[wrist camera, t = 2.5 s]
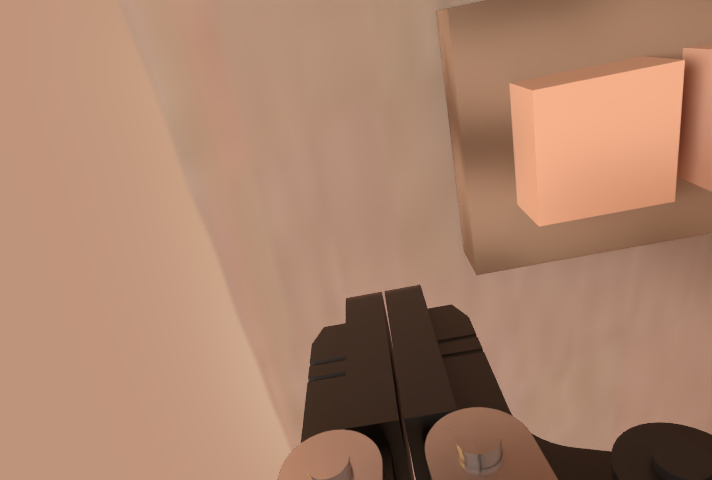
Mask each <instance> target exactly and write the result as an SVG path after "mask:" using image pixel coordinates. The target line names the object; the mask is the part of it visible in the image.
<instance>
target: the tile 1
mask: <svg viewBox="0 0 712 480" xmlns="http://www.w3.org/2000/svg"><path fill="white" fill-rule="evenodd" d="M684 67H685V60H680V59H669V58H658V57H647V56H640V57H635V58H630V59H626V60H621V61H616V62H611V63H606V64H601V65H596V66H591V67H586V68H581V69H576V70H571V71H566V72H561V73H556V74H551V75H546V76H541V77H536V78H531V79H526V80H521V81H516V82H511V83H509V86H510V101H511V116H512V131H513V147H514V162H515V177H516V193H517V205H518V206H519V207H520V208H521V209H522V210H523V211H524V212H525V213H526V214H527V215H528V216H529V217H530V218H531V219H532V220H533V221H534V222H535V223H536V224H537V225H538V226H539V227H540V226H545V225H550V224H556V223H561V222H567V221H572V220H578V219H583V218H588V217H594V216H599V215H605V214H610V213H616V212H621V211H626V210H632V209H637V208H643V207H648V206H654V205H659V204H664V203H670V202H675V193H676V179H677V165H678V151H679V137H680V123H681V109H682V95H683V81H684Z"/></svg>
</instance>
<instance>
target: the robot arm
mask: <svg viewBox="0 0 712 480" xmlns="http://www.w3.org/2000/svg"><path fill="white" fill-rule="evenodd" d="M385 297H386V304H387V311H388V317H389V324H390V331H391V336H390V331H389V326H388V321H387V316H386V311H385V305H384V300H383V296H382V292H378V293H373V294H367V295H362V296H356V297H350V298H346V323H345V324H340V325H334V326H328V327H324V328H323V329H322V331H321V332H320V334H319V335H318V337H317V338H316V339H315V341H314V342H313V344H312V349H311V358H310V367H309V375H308V380H309V382H308V384H307V393H306V402H305V411H304V420H303V429H302V438H301V444H300V445H298V446H297V447H296V448H295V449H294V450H293V451H292V452H291V453H290V454H289V456H288V457H287V458H286V459H285V461H284V463H283V465H282V467H281V469H280V472H279V476H278V480H414V475H413V469H412V462H413V467H414V472H415V477H416V480H712V435H711V434H709V433H706V432H704V431H701V430H698V429H695V428H692V427H688V426H684V425H679V424H673V423H647V424H642V425H638V426H635V427H632V428H630V429H628V430H627V431H625V432H623V433H622V434H621V435H620V436H619V437H618V438H617V440H616V442H615V443H614V445H613V449H612V452H610V451H600V450H591V449H582V448H573V447H567V446H561V445H558V444H554V443H551V442H548V441H546V440H543V439H541V438H539V437H537V436H535V435H533V434H532V433H531V432H530V431H529V430H528V428H527V427H526V426H525V425H524V424H523V423H522V422H521V421H519V420H518V419H516V418H515V417H513V416H512V414H511V412H510V410H509V408H508V406H507V404H506V401H505V399H504V397H503V394H502V392H501V390H500V388H499V385H498V383H497V381H496V378H495V376H494V374H493V372H492V369H491V367H490V365H489V362H488V360H487V358H486V356H485V353H484V352H483V349H482V346H481V344H480V342H479V340H478V337H477V336H476V333H475V330H474V328H473V326H472V324H471V321H470V319H469V317H468V316H467V315H465V314H464V313H463V312H461V311H460V310H458V309H457V308H456V307H454V306H453V305H446V306H441V307H435V308H429V309H427V306H426V302H425V299H424V296H423V292H422V289H421V286H420V285H417V286H411V287H405V288H400V289H394V290H389V291H385ZM391 337H392V341H391ZM392 344H393V346H392ZM408 442H409V443H408ZM409 447H410V449H409ZM410 452H411V456H410ZM411 457H412V462H411Z"/></svg>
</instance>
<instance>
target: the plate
mask: <svg viewBox="0 0 712 480" xmlns="http://www.w3.org/2000/svg"><path fill="white" fill-rule="evenodd" d="M436 14H437V22H438V31H439V39H440V48H441V57H442V65H443V74H444V82H445V91H446V100H447V108H448V117H449V125H450V134H451V143H452V151H453V160H454V168H455V177H456V186H457V194H458V203H459V211H460V220H461V229H462V237H463V246H464V252H465V254H466V256H467V258H468V260H469V262H470V264H471V265H472V267H473V269H474V271H475V273H476V275H480V274H486V273H491V272H497V271H502V270H508V269H514V268H519V267H525V266H530V265H536V264H541V263H547V262H552V261H558V260H564V259H569V258H575V257H580V256H586V255H591V254H597V253H602V252H608V251H614V250H619V249H625V248H630V247H636V246H641V245H647V244H652V243H658V242H664V241H669V240H675V239H680V238H686V237H691V236H697V235H702V234H708V233H712V192H711V191H709V190H707V189H704V188H702V187H700V186H698V185H695V184H693V183H691V182H689V181H686V180H684V179H682V178H679V177H677V179H676V193H675V202H670V203H664V204H659V205H654V206H648V207H643V208H637V209H632V210H626V211H621V212H616V213H610V214H605V215H599V216H594V217H588V218H583V219H578V220H572V221H567V222H561V223H556V224H550V225H545V226H540V227H539V226H538V225H537V224H536V223H535V222H534V221H533V220H532V219H531V218H530V217H529V216H528V215H527V214H526V213H525V212H524V211H523V210H522V209H521V208H520V207H519V206H518V205H517V193H516V177H515V162H514V147H513V131H512V116H511V101H510V86H509V83H511V82H516V81H521V80H526V79H531V78H536V77H541V76H546V75H551V74H556V73H561V72H566V71H571V70H576V69H581V68H586V67H591V66H596V65H601V64H606V63H611V62H616V61H621V60H626V59H630V58H635V57H640V56H647V57H658V58H669V59H680V60H682V57H683V48H685V47H690V46H695V45H700V44H705V43H710V42H712V0H486V1H481V2H476V3H471V4H467V5H462V6H457V7H452V8H448V9H443V10H438V11H436Z"/></svg>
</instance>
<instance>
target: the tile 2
mask: <svg viewBox="0 0 712 480" xmlns="http://www.w3.org/2000/svg"><path fill="white" fill-rule="evenodd" d="M682 60H685V67H684V81H683V95H682V109H681V123H680V137H679V151H678V165H677V177H679V178H682V179H684V180H686V181H689V182H691V183H693V184H695V185H698V186H700V187H702V188H704V189H707V190H709V191H711V192H712V42H710V43H705V44H700V45H695V46H690V47H685V48H683V57H682Z"/></svg>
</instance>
